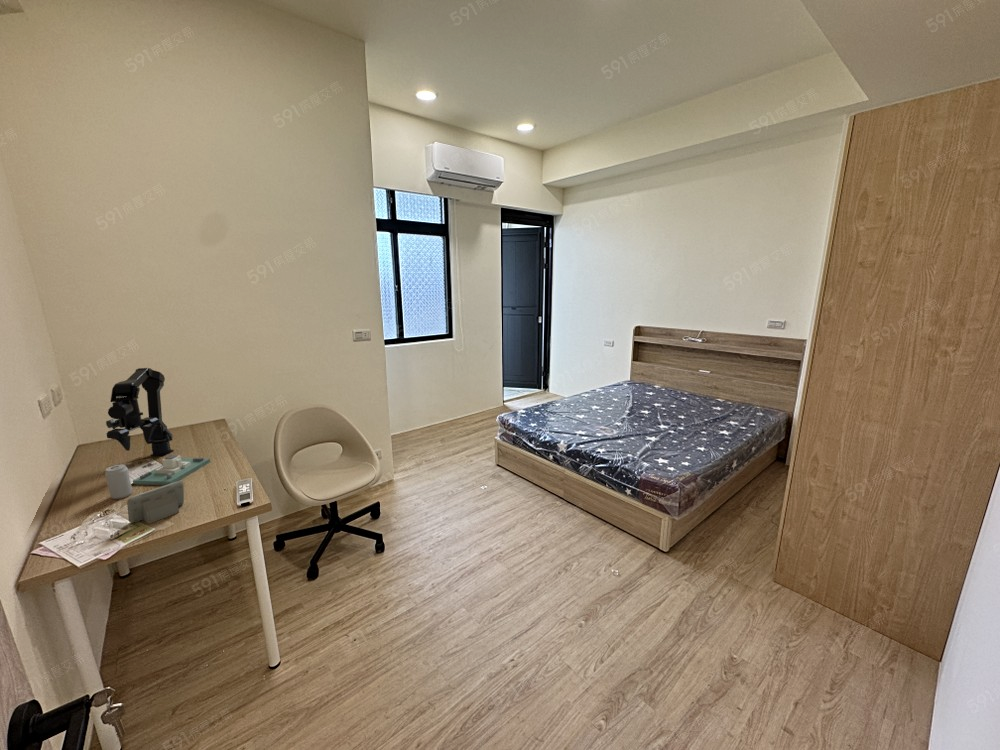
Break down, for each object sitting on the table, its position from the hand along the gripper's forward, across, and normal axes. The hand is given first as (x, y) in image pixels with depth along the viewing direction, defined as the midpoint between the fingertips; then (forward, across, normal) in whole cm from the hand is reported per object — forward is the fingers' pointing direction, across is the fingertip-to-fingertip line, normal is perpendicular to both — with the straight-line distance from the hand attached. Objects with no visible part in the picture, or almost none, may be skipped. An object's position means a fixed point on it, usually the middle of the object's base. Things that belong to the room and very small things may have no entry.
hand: (137, 446), depth 174 cm
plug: (+12, 0, +14) cm, 18 cm away
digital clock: (+12, +32, +36) cm, 49 cm away
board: (+12, 0, +14) cm, 18 cm away
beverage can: (+12, +20, +10) cm, 25 cm away
